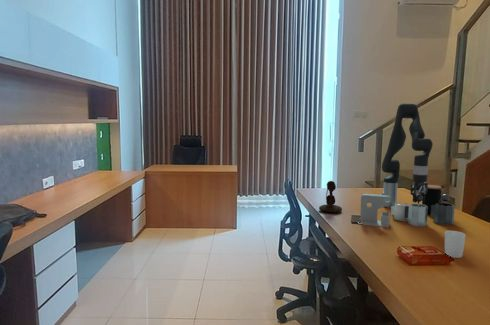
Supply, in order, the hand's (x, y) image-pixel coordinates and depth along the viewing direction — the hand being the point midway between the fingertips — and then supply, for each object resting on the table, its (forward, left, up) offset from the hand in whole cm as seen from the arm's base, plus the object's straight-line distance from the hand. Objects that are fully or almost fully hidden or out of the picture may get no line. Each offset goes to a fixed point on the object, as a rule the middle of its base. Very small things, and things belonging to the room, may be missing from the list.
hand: (418, 201), depth 204 cm
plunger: (0, 0, -12) cm, 12 cm away
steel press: (-1, 0, -13) cm, 14 cm away
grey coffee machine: (-18, -17, -14) cm, 29 cm away
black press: (+9, +14, -13) cm, 21 cm away
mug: (-11, +4, -14) cm, 18 cm away
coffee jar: (-3, +32, -14) cm, 35 cm away
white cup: (+29, -40, -14) cm, 51 cm away
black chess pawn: (-51, -11, -14) cm, 54 cm away
